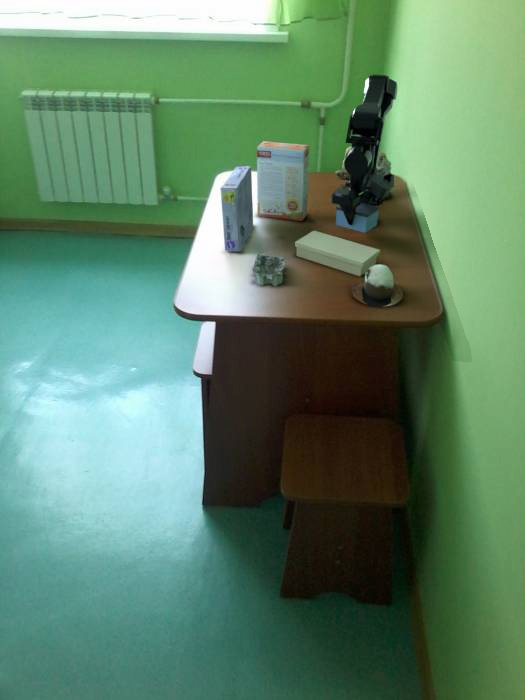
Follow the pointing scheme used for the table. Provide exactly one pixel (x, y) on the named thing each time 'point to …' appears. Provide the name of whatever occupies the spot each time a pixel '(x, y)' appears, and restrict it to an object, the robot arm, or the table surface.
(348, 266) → the cream lidded box
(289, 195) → the cracker box
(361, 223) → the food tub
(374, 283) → the egg in cup
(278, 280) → the egg carton
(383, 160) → the owl figurine
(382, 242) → the table surface
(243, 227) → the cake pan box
